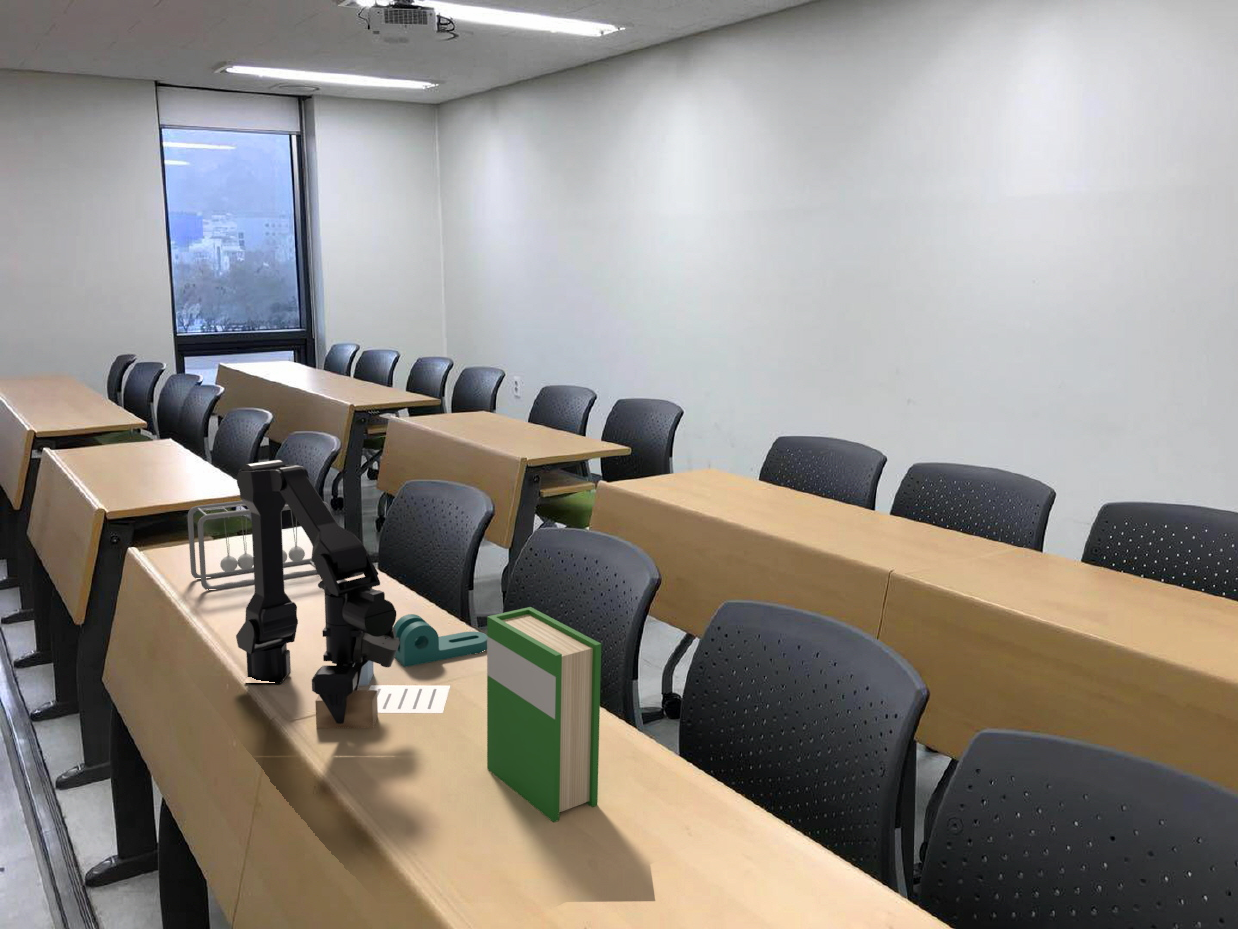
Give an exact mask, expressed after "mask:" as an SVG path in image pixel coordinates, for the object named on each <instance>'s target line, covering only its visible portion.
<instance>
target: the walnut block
mask: <svg viewBox="0 0 1238 929" xmlns="http://www.w3.org/2000/svg"><path fill="white" fill-rule="evenodd" d="M314 702H315V725H316V727H317V728H316V727H315V728H316V729H374V727H375V724H376V722H377V720H378V718H379V717H378V716H379V713H378V706H377V690H369V689H366V690H365V689H363V690H362V689H358V690H354V692H353V693H352V694H350V695H348V700H347V707H346V713H345V719H344V723H343V724H337V723H336V722H335V720H334V718H333V716H332V715H331V713H330V711H329V710H328V708H327V706H326V705H325V703H324V702H323V700H322V699H321V697H320V696H319V694H317V696H316V699H315V701H314Z"/></svg>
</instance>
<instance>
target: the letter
mask: <svg viewBox="0 0 1238 929" xmlns="http://www.w3.org/2000/svg"><path fill="white" fill-rule="evenodd" d="M450 688H451V685H432V684H431V685H425V684H424V685H422V684H421V685H416V684H415V685H410V684H409V685H408V684H407V685H405V684H404V685H397V684H395V685H393V684H392V685H391V684H389V685H387V684H386V685H385V684H383V685H382V684H381V685H379V684H377V685H376V684H375V685H372V684H371V685H370V687H369V689H368V690H377V706H378V714H443V713H444V709H445V707H446V702H447V699H448V696H449V693H450Z"/></svg>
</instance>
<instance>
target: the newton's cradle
mask: <svg viewBox="0 0 1238 929" xmlns="http://www.w3.org/2000/svg"><path fill="white" fill-rule="evenodd" d="M323 502H324V504H325V505H326V507H327V508H328V510H329V511H330V512H331V506H330V505H329V503H327V502H326V501H323ZM245 506H246V505H245V504H244V502H243V501H242V500H237V501H227V502H220V503H212V504H211V503H210V504H209V503H208V504H201V505H195V506H193V507H191V508H190V509H189V510H188V513H187V531H188V546H189V560H190V561H189V562H190V563H189V564H190V574H191V576H192V577H193V578H195V579H196V578H201V580H200V584H201V586H202V588H203V589H204V590H206V589H208V590H209V589H220V590H224V589H223V588H227V589H231V588H230V587H233V588H238V586H239V587H243V586H244V585H245V586H250V585H255V584H254V578H253V579H248V580H247V579H246V580H241V581H240V580H239V581H235V582H228V583H221V584H215V585H211V584H210V583H209V581H208V580H207V579H206V577H216V578H221V577H222V576H223V577H228V576H234V575H235V576H236V575H241V574H247V573H248V574H249V573H254V562H253V554H250V553H247V552H246V543H243V550H244V553H243V554H241V555H239V556H238V558H237V559H236V558H235V556H231V555H230V554H229V545H226V551H227V556H224V557H223V558H222V559H221V560H220V563H219V564H220V569H221V570H222V571H220V572H213V573H207V570H206V569H207V568H206V552H205V538H204V534H205V533H204V523H205V522H206V521H208V520H215V519H216V520H217V519H222V518H223V523H224V532H225V534H227V529H226V528H227V527H226V520H225V519H226V518H231V517H239V516H240V520H241V522H243V517H242V516H245V533H247V525H248V524H247V523H248V522H247V518H248V515H251V512H250V510H249V509H248V508H247V509H245V508H244V507H245ZM235 507H239V509H240V510H231V511H230V510H229V511H228V510H227V509H228V508H235ZM220 509H222V511H221V512H215V513H206V512H204V511H211V510H220ZM288 510H290V514H291V523H292V525H294V521H293V512H292V511H291V509H290V507H289V506H288V504H286V505H285V507H284V508H283V510H282V511H288ZM198 511H199V512H201V514H203V516H201V517H200V518H199V520H198V522H197V540H198V555H199V568H200V569H199V570H200V572H199V573H200V574H199V573H198V572H197V565H196V564H197V563H196V562H197V561H196V548H195V547H196V546H195V531H194V530H195V529H194V514H195V513H196V512H198ZM297 522H298V520H297V519H296V518H295V528H294V526H292V531H293V533H295V534H293V538H294V546H292V547H291V548H290V549H289V551H288V554H287V552H286V550H284V549H283V568H287V567H294V566H300V565H306V564H312V565H313V566H314V567H315V565H314V563H313V561H312V557H310V558H306V559H305V555H306V554H305V553H306V552H305V549H304V548H303V547H301V546H298V527H297V526H298V525H297V524H298V523H297ZM243 527H244V526H243V523H241V530H242V532H244V528H243ZM294 529H295V530H294ZM227 536H228V535H225V540H226V541H225V542H226V544H228V538H227ZM242 539H243V542H245V534H244V533H242ZM288 557H289V559H290V561H287V559H288ZM312 575H318V573H317V571H316V568H315V569H311V570H310V569H309V570H304V571H303V570H302V571H297V572H290V573H285V574H284V580H287V579H289V580H290V579H294V578H295V579H296V578H300V577H306V576H312ZM208 590H207V591H208Z"/></svg>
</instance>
